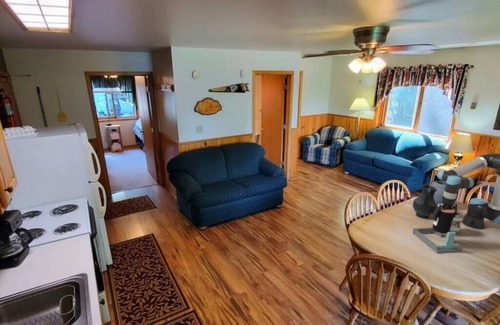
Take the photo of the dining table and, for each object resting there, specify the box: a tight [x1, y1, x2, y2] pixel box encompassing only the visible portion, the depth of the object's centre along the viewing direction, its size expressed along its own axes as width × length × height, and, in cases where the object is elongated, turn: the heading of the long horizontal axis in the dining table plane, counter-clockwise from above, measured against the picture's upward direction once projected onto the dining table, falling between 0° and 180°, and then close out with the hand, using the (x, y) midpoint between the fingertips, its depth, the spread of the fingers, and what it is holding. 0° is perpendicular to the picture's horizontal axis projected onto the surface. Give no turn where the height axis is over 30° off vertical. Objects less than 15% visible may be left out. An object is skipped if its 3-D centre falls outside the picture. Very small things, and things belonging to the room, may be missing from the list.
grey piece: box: [412, 226, 463, 254], centre depth 203 cm, size 19×25×4 cm
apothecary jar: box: [450, 210, 464, 237], centre depth 213 cm, size 12×12×18 cm
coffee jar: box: [432, 209, 455, 235], centre depth 196 cm, size 11×11×18 cm
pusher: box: [436, 232, 460, 250], centre depth 192 cm, size 16×2×15 cm, turn 96°
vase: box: [430, 180, 446, 204], centre depth 254 cm, size 20×20×24 cm
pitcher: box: [412, 184, 438, 220], centre depth 234 cm, size 17×21×30 cm
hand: (442, 224), depth 197 cm, fingers closed on coffee jar, 11 cm apart
